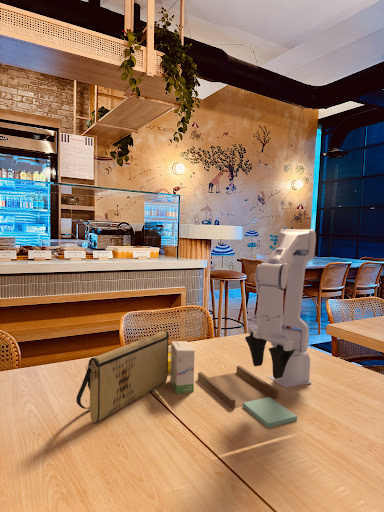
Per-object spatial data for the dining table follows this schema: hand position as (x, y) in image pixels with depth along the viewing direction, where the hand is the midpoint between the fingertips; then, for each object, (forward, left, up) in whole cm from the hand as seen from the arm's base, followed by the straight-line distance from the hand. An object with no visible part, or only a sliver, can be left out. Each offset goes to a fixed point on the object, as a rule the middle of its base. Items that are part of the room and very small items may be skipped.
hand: (267, 371), depth 84 cm
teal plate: (0, +1, -11) cm, 11 cm away
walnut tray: (0, -12, -10) cm, 16 cm away
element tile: (+13, -39, -11) cm, 42 cm away
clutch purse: (+29, -19, -10) cm, 36 cm away
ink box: (+13, -20, -10) cm, 26 cm away
